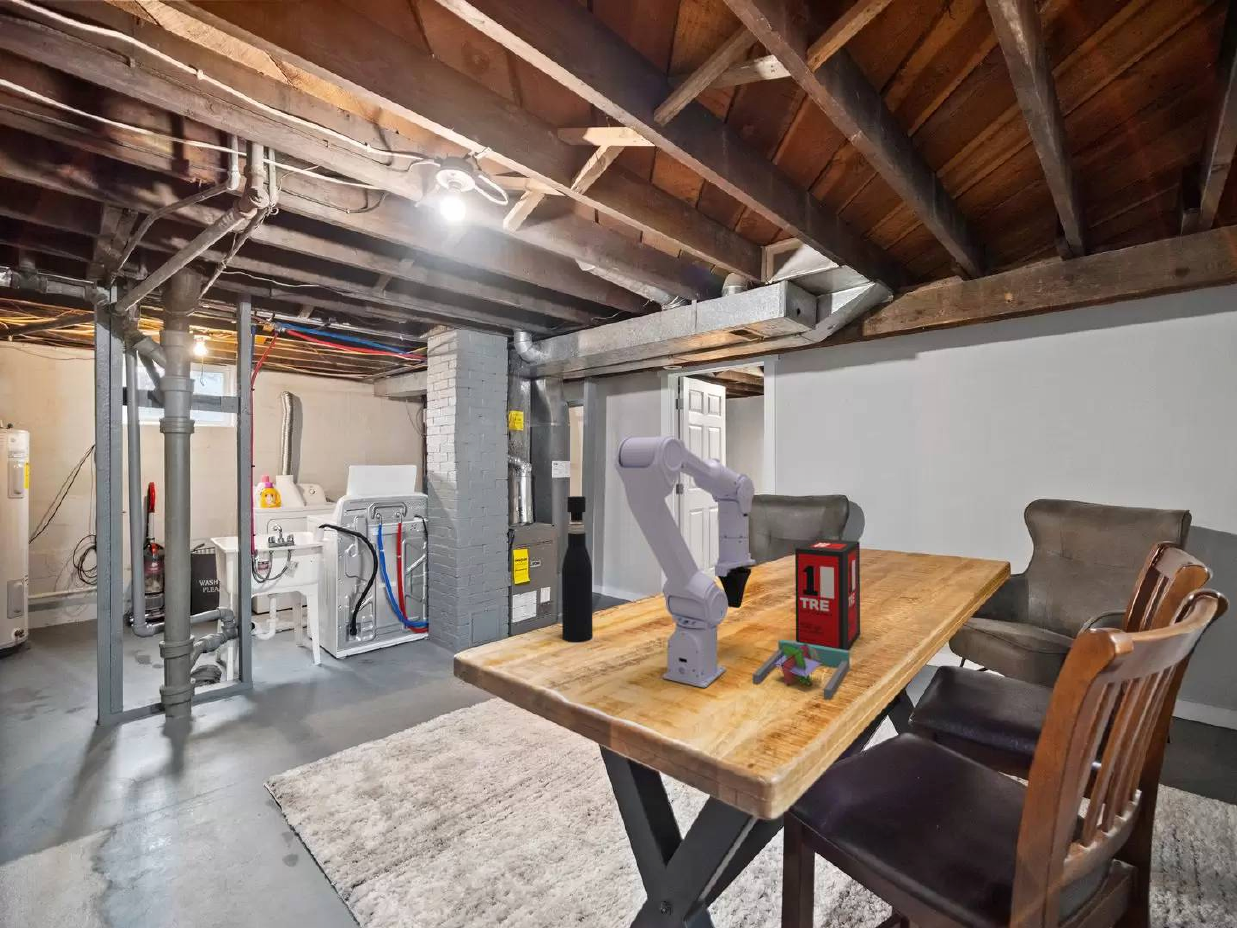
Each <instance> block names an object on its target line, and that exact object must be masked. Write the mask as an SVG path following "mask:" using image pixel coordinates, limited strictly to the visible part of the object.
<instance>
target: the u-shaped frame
mask: <svg viewBox="0 0 1237 928" xmlns="http://www.w3.org/2000/svg"><path fill="white" fill-rule="evenodd" d="M781 643H786V644H785V645H788V646H791V647H794V648H796V647H797V649H799V648H801V647H802V646H803V645H804V643H800V642H796V641H793V640H787V639H783V638H781V639H779V640H778V649H777V650H775V652H774V653H773V654H772V655H771V656H770V657H769V658H767V660H766V661H765V662H764V663H763V664H762V665H760V667H759V668H757V669H756V670H755V672H753V674H752V684H754V683H756V685H760V684H761V683H762V682H763V680H765V679H766V678H767V676H768V675H769V674H771V672H772V671H773V670H774V669H776V667H774V665H773V664H775V663H776V662H777V661H778V660H779V659H780V658H781V650H782V657H783V656H784V655H785V652H784V649H783V645H782V644H781ZM802 644H803V645H802ZM800 645H801V646H800ZM808 645H809V646H811V647H812V648H813V649H814V650H816V651H817V653H818V656H819V659H820V662H821V663H822V664H821V665H820V666H823V665H826V666H825V667H829V666H830V667H829V668H835V670H834V672H833V674H832V676H830V679H829V680H828V681H827V683H826V685H825V687H824V688H823V699H824V700H829V701H831V700H832V698H833V697H834V694H835V693H836V691H837V690H838V688H839V686H840V685H841V682H842V681H843V679H844V678H845V676H846V674H847V673H848V671H849V669H850V668H851V665H850V660H851V659H850V650H849V651H848V650H842V649H836V648H830V647H824V646H818V645H812V644H808ZM798 646H799V647H798ZM807 648H808V651H809V655H810V656H811V651H810V649H809V647H808V646H807ZM779 649H780V650H779ZM777 654H778V655H777ZM775 659H776V660H775ZM810 659H811V657H810ZM811 660H812V659H811ZM773 668H774V669H773ZM772 669H773V670H772ZM771 670H772V671H771ZM770 671H771V672H770ZM767 674H768V675H767ZM766 675H767V676H766ZM761 681H762V682H761ZM760 682H761V683H760ZM759 683H760V684H759Z"/></svg>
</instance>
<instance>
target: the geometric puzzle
mask: <svg viewBox="0 0 1237 928" xmlns="http://www.w3.org/2000/svg"><path fill="white" fill-rule="evenodd" d="M781 644H782V645H783V649H784V652H785V655H784V656H783V657H782V650H781V658H780V659H779V660H778V661H777V662H776V663H775V664H773V665H774V667H775V670H776V671H777V672H778V674H780V673H779V671H778V670H780V671H781V672H782V673H783V674H782V675H783V677H784V680H785V681H784V682H785V684H786V687H790V686H792V685H794V684H795V683H798V682H802V681H803V682H802V683H804V682H805V684H806V685H802V684H801V685H800V687H802V686H807V683H809V684H811V685H812V686H813V684H814V682H812V680H811V678H810V677H811V676H810V674H812V673H813V672H814V670H816V669H817V668H818V667H820V666H821V665H820V664H822V663H821V662H820V659H819V656H818V653H817V651H816V650H814V649H813V648H812V647H811V646H809V645H808V644H807V643H804V645H803V644H802V645H803V646H802V647H801V648H799V649H797V647H796V648H794V647H791V646H788V645H785V644H786V643H781ZM800 646H801V645H800ZM807 646H808V647H809V649H810V651H811V656H810V655H809V651H808V648H807ZM798 647H799V646H798ZM779 650H780V649H779ZM777 655H778V654H777ZM810 657H811V659H812V660H811V659H810ZM775 660H776V659H775ZM777 669H778V670H777ZM819 669H820V668H818V671H819ZM816 677H817V676H816V675H815V677H814V678H816ZM794 680H797V681H794ZM800 680H801V681H800ZM793 681H794V682H793ZM809 684H808V685H809ZM811 685H810V686H811Z"/></svg>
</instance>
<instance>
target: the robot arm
mask: <svg viewBox="0 0 1237 928" xmlns="http://www.w3.org/2000/svg"><path fill="white" fill-rule="evenodd" d="M720 462H721V460H720V459H719V458H717V457H711V458H706V459H702V458H701V457H699V456H698V455H697V454H696V453H694V452H693V451H692V450H690V449H689V448H688V447H686V445H685V441H684V440H682V439H681V438H680V439H679V438H678V437H677V436H675V435H673V434H667V435H664V436H663V435H662V436H647V437H645V436H644V437H643V436H642V437H633V436H629V437H628V436H627V437H625V438H623V439H622V440H621V441H620V443H619V444H618V447H617V451H616V455H615V461H614V467H615V469H616V472H617V473H618V475H619V477H620V479H621V481H622V483H623V484H624V485H623V486H624V490H625V491H624V492H625V495H626V499H627V500H626V501H627V504H628V506H629V507H628V508H629V509H630V512H631V513H632V515H633V516H634V519H635V521H636V523H637V524H638V526H639V528H640V530H641V532H642V534H643V536H644V537H645V540H646V542H647V543H648V545H649V547H650V549H651V551H652V553H653V555H654V557H655V559H656V560H657V562H658V564H659V566H660V569H661V570H662V571H663V574H664V576H665V578H666V580H665V582H664V584H663V586H662V588H661V589H662V590H661V592H662V593H663V596H664V599H665V606H666V609H667V612H668V614H669V615H671V617H672V618H671V619H672V622H675V629H674V632H673V633H672V634H671V635H670V636H669V638H668V640H667V645H666V646H667V649H666V650H667V655H666V656H667V672H665V673H664V674H662V678H663V679H665V680H670V681H674V682H678V683H681V684H687V685H690V686H696V687H700V688H706V687H708V686H709V685H710V684H711V683H712V682H714V681H715V680H716V679H717V678H719V677H720V676H721V675H722V674H723V673H724V672H725V671H726V670H727V667H726V666H721V665H718V626H720V625H721V623H722V622H723V620H724V619H725V618H726V616H727V612H728V609H729V608H733V609H734V608H735V609H739V608H741V607H742V603H743V600H744V593H745V588H746V585H747V583H748V580H749V578H750V576H751V574H752V568H748V567H745V566H753V565H755V564H756V559H752V553H750V538H749V535H750V534H749V533H750V532H749V529H750V527H749V513H751V510H752V501H753V498H754V495H755V487H754V482H753V480H752V478H751V477H749V476H748V475H747V474H745V473H737V472H735V471H733V468H732V467H728V466H726V465H723V464H722V463H720ZM680 473H682V474H685V475H687V476H690V477H691V478H693V483H694V484H695V486H696V487H698V488H700V489H701V490H702V491H704V492H707V493H708V494H710V495H711V498H712V499H713V501H714V502H715V503H717V523H718V524H717V527H718V529H717V531H718V533H717V534H718V535H717V536H718V539H717V540H718V558H717V561H716V564H715V565H714V576H716V577H718V578H717V579H719V582H720V583H721V586H722V588H723V589H722V588H721V587H720V586H718V584H717V582H716V580H715V579H714V578H712V577H710V576H709V575H708V574H706V573H704V572H702V571H701V570H700V569H699V568H698V565H697V563H696V561H695V559H694V557H693V554H692V553H691V551H690V549H689V547H688V545H687V543H686V541H685V539H684V537H683V535H682V533H681V531H680V529H679V526H678V525H677V523H676V520H675V518H674V516H673V513H672V512H671V510H670V508H669V506H668V503H667V502H666V498H667V497H669V496H670V495H671V494H672V493H673V490H674V488H675V485H676V483H677V481H678V478H679V475H680Z"/></svg>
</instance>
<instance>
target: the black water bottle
mask: <svg viewBox="0 0 1237 928" xmlns="http://www.w3.org/2000/svg"><path fill="white" fill-rule="evenodd" d="M586 498H587V497H586V496H579V495H577V496H576V495H575V496H567V499H566V500H567V502H566V504H567V507H566V508H567V509H566V510H567V513H569V514H570V524H569V526H568V528H569V530H568V531H569V532H567V547H566V548H567V549H566V551H565V554H564V557H563V561H562V567H561V611H562V612H561V620H562V621H561V624H562V625H561V626H562V627H561V629H562V631H561V632H562V640H564V641H565V642H570V643H583V642H588V641H590V640H592V639H593V566H592V561H591V557H590V555H589V551H588V548H587V546H586V544H587V541H586V539H587V537H586V532H585V524H584V523H583V522H584V520H583V513H586V509H587V508H586Z"/></svg>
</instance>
